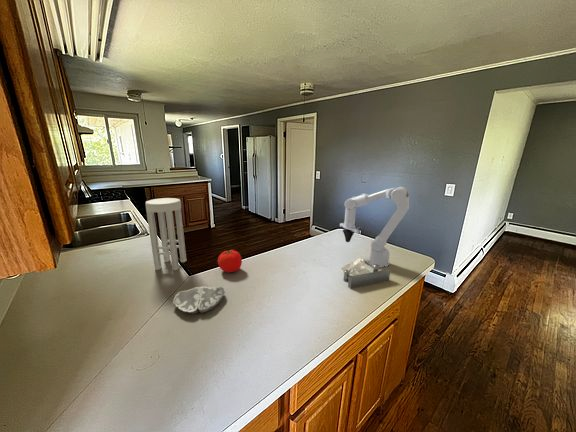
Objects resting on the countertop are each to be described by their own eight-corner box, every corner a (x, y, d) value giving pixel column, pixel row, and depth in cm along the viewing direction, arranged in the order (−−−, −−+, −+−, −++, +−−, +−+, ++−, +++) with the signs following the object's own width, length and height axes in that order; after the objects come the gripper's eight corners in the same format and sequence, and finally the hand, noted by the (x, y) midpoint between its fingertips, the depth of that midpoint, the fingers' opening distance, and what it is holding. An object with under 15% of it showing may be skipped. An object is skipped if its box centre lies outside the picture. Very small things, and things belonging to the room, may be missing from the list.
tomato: (244, 266, 127) (244, 246, 124) (238, 277, 116) (237, 256, 113) (223, 264, 128) (222, 245, 125) (214, 275, 117) (213, 254, 114)
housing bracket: (377, 272, 123) (378, 263, 121) (388, 280, 115) (390, 271, 114) (340, 279, 115) (341, 270, 114) (350, 288, 108) (351, 279, 106)
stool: (179, 272, 120) (171, 204, 111) (148, 271, 120) (138, 203, 111) (191, 258, 135) (185, 198, 126) (164, 258, 135) (156, 197, 126)
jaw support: (363, 279, 110) (352, 260, 114) (351, 285, 116) (340, 268, 120) (377, 271, 118) (366, 254, 121) (364, 278, 124) (354, 261, 127)
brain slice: (169, 322, 86) (168, 315, 85) (177, 295, 101) (176, 289, 101) (225, 313, 91) (225, 307, 90) (224, 289, 106) (224, 283, 106)
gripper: (364, 221, 130) (361, 244, 134) (347, 215, 143) (345, 236, 146) (354, 223, 127) (352, 246, 131) (337, 216, 140) (335, 238, 143)
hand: (347, 241), depth 139 cm, fingers closed
